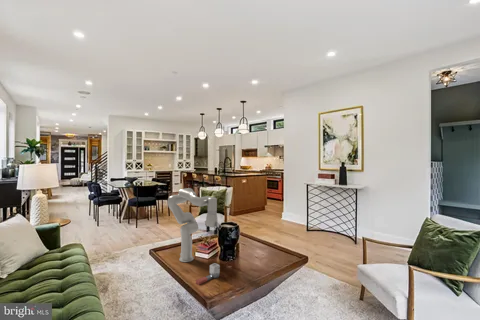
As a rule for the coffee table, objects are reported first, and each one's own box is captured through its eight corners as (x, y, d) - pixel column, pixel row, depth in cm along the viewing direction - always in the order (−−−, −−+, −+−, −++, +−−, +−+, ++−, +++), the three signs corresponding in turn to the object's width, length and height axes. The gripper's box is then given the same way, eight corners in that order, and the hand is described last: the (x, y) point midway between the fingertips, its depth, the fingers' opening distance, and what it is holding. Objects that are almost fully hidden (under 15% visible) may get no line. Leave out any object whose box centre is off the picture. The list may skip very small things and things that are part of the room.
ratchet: (194, 282, 181) (194, 270, 180) (214, 273, 195) (215, 262, 195) (200, 285, 176) (200, 273, 176) (221, 276, 191) (221, 265, 190)
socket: (209, 272, 190) (209, 265, 190) (214, 270, 194) (214, 263, 194) (214, 275, 187) (214, 267, 187) (219, 272, 191) (219, 265, 191)
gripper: (201, 211, 209) (201, 231, 209) (215, 214, 198) (215, 236, 198) (208, 210, 215) (208, 230, 215) (222, 213, 203) (222, 234, 203)
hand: (211, 233), depth 206 cm, fingers open, 9 cm apart
